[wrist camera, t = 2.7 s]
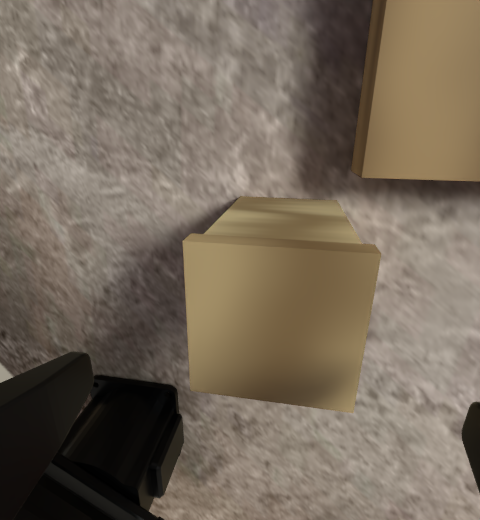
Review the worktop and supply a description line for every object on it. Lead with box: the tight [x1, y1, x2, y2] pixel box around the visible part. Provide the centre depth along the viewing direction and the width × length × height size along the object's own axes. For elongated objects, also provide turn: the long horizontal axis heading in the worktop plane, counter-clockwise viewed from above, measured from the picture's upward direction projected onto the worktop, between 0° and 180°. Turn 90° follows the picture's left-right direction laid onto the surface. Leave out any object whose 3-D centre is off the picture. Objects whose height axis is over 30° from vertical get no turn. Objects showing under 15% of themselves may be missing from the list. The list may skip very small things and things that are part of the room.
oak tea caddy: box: [183, 196, 381, 413], centre depth 14 cm, size 5×5×9 cm
